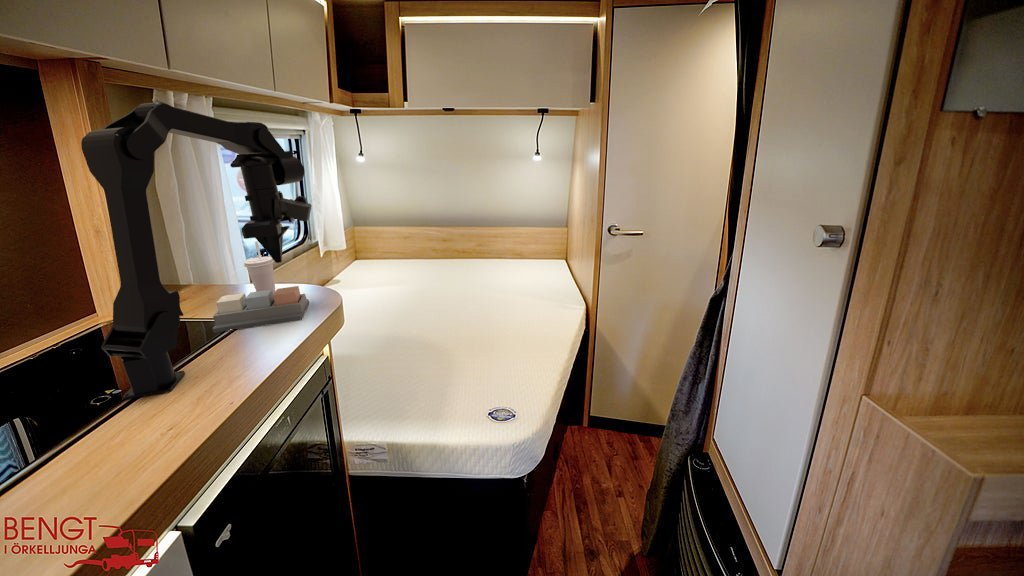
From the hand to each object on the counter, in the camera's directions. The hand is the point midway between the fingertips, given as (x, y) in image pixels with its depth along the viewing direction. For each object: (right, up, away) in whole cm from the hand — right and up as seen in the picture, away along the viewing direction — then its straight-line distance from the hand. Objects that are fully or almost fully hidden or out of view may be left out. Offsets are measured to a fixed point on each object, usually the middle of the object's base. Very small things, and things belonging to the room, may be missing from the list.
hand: (279, 262), depth 100 cm
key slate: (-5, -9, +2) cm, 10 cm away
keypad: (-5, -12, +3) cm, 13 cm away
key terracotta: (+1, -8, +3) cm, 9 cm away
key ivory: (-10, -10, +1) cm, 14 cm away
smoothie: (-11, -8, +16) cm, 21 cm away
